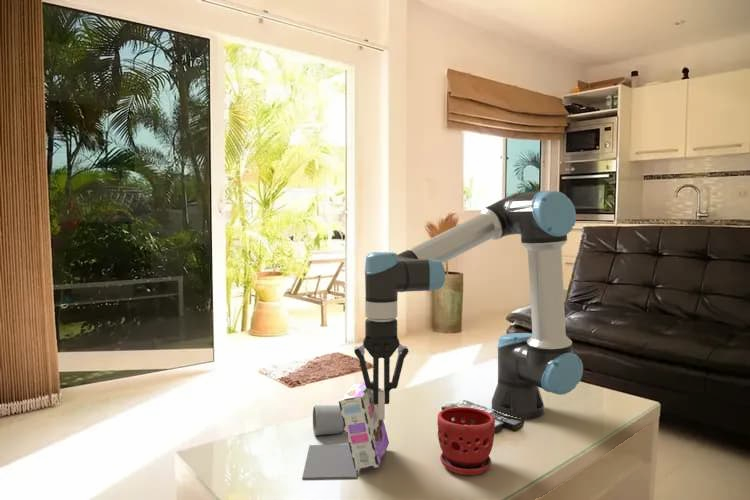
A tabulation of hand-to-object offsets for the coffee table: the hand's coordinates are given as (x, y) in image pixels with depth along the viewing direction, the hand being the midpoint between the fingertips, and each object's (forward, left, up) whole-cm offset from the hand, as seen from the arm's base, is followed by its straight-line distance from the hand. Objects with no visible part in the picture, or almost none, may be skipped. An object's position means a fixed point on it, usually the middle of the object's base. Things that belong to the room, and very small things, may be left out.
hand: (381, 417), depth 119 cm
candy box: (+2, 0, -10) cm, 10 cm away
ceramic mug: (+14, -18, -11) cm, 25 cm away
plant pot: (-20, +3, -11) cm, 23 cm away
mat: (+12, 0, -11) cm, 16 cm away
